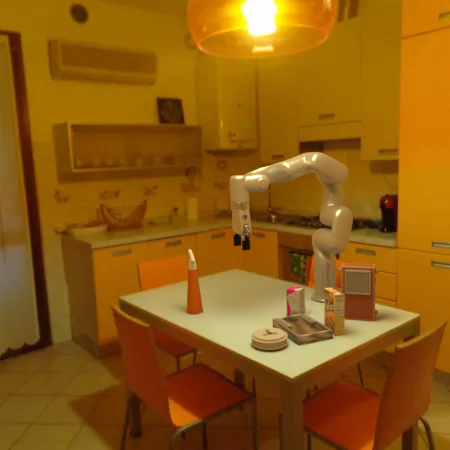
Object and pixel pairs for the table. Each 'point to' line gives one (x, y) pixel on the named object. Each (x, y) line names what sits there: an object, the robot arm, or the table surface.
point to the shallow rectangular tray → (303, 328)
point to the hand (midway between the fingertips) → (241, 247)
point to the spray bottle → (193, 287)
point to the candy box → (334, 310)
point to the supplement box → (295, 300)
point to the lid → (269, 338)
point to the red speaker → (359, 290)
